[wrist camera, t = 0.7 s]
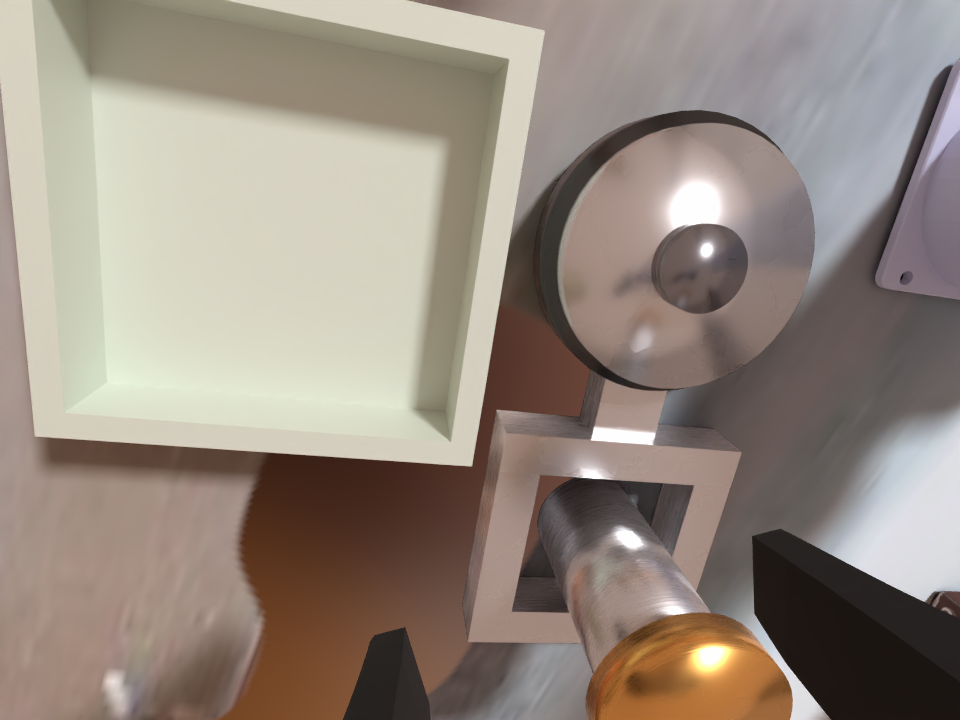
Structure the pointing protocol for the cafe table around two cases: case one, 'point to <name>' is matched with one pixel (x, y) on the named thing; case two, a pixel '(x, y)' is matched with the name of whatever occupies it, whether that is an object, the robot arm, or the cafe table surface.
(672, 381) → the tensioner bracket
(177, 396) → the parts tray
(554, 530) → the jar with gold lid
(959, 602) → the box
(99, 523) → the cafe table surface
